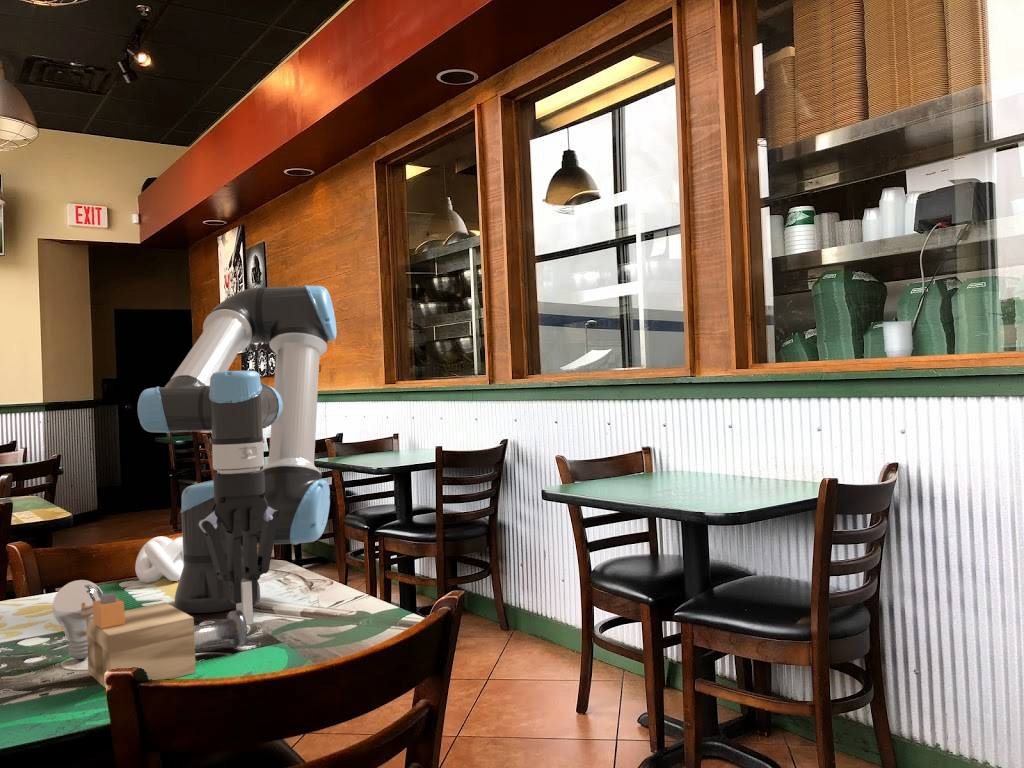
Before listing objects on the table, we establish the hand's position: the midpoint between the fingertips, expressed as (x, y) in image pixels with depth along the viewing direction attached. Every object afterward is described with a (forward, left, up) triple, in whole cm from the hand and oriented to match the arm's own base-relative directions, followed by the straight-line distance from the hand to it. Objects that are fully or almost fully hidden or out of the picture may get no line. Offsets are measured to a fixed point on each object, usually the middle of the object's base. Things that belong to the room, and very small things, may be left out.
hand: (245, 622), depth 125 cm
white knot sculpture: (-59, +6, -4) cm, 60 cm away
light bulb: (-13, -20, -4) cm, 24 cm away
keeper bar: (0, -19, +4) cm, 20 cm away
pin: (0, -8, -4) cm, 9 cm away
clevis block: (0, -15, -4) cm, 16 cm away
